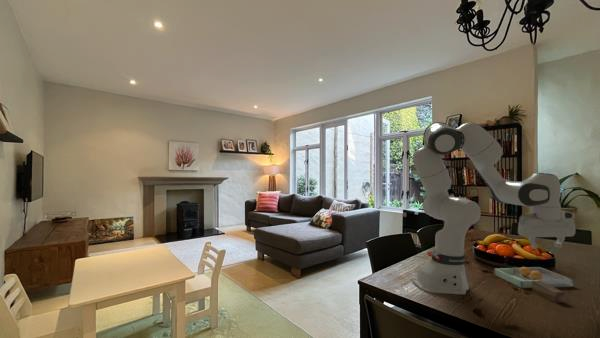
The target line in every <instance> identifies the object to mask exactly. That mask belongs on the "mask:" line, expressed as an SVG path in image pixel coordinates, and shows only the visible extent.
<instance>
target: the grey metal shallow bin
mask: <svg viewBox="0 0 600 338" xmlns="http://www.w3.org/2000/svg"><path fill="white" fill-rule="evenodd" d="M526 267H527V266H526ZM510 268H511V274H513V275H515V276H517V277H520V278H522V279H524V280H535V279H533V278H532V277H531V275H529V276H524V275H522V274H521V273H520V271H519V269H520V268H521V267H510ZM527 268H528V269H529V270H530V272H532V271H539V272H540V273H541V274H542V279H538V281H542V282H544V283H546V284H548V285H550V286H552V287H554V288H571V287H574V279H573V278H570V277H568V276H565V275H562V274H559V273H557V272H555V271H551V270H549V269H546V268H543V267H541V266H530V267H529V266H528V267H527Z"/></svg>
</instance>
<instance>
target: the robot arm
mask: <svg viewBox="0 0 600 338" xmlns="http://www.w3.org/2000/svg"><path fill="white" fill-rule="evenodd" d="M459 150H461V151H462V152H463V153H464V154H465V155H466V156H467V157H468V159H470V161H471V162H472V165H473V167H474V169H475V171H476V172H477V174H479V176H480V177H481V179H482V180H483V181H484V183H485V184H486V185H487V187H488V188H489V191H490V193H491V196H492V198H493V200H495V201H496V202H498V203H500V204H506V205H507V204H509V205H510V204H511V205H515V206H523V207H530V213H522V215H520V216H519V220H518V226H517V234H518V235H519V236H520V237H524V238H527V240H528V241H529V243H530V248H532V249H538V248H539V244H538V243H537V242H536V241H535V240H536V239H537V238H556V240H555V241H554V242H553V246H554V248H556V249H558V248H559V249H560V248H561V249H562V247H563V243H564V241H565V240H566V237H574V236H575V235H576V222H575V220H574V218H575V216H576V215H575V213H573V212H570V211H567V210H563V209H562V206H561V201H560V198H561V196H562V195H561V183H560V179H559V177H558V176H557V175H555V174H554V173H553V174H552V173H548V172H546V173H545V172H534V173H532V174H531V176H529V177H528V178H525V179H524V180H522V181H516V180H515V181H514V180H513V181H512V180H508V179H505V178H503V177H502V175H501V174H500V172H499V171H498V170H497V168H496V167H495V164H497V162H499V161H500V159H501V158H502V156H503V147H502V146H501V145H500V143H499V142H498V140H496V139H495V138H494V136H492V134H490V133H489V132H488V131H487V130H486V129H485V128H484V127H482V126H480V124H478V123H476V122H473V121H472V122H470V121H469V122H466V123H463V124H461V125H460V126H458V127H456V128H454V127H451V126H450V125H448V124H447V123H445V122H441V121H437V122H433V123H430V124H429V125H427V127H426V128H425V129H424V132H423V137H422V147H420V148H418V149H417V150H415V151H414V152H413V154H412V160H413V166H414V168H415V170H416V173H417V175H418V178H419V180H420V182H421V184H422V186H423V189H424V192H425V198H424V199H423V202H422V209H423V212H424V213H425V215H428V216H429V217H432V218H433V219H437V220H440V221H444V224H443V227H442V229H439V230H438V231H436V233H435V235H434V236H435V237H434V238H435V239H434V241H435V244H434V245H435V246H434V248H435V250H434V251H433V252H432V251H431V250H427V251H426V255H428V256H429V257H431V258H430V259H429V260H428V261H427V262H425V263H423V264H422V265H421V266H419V268H418V270H417V275H416V276H412V277H411V281H412V283H413V284H414V285H415V286H416V287H417V288H419V289H420V290H422V291H424V292H426V291H427V293H435V294H449V295H450V294H451V295H452V294H453V295H466V294H467V291H468V290H469V289H470V287H469V284H468V280H467V275H466V269H465V265H466V254H465V242H466V241H465V238H466V234H467V232H468V230H469V228H470V227H471V226H473V225H475V224H476V223H477V222H478V221H479V219H480V218H481V215H482V214H481V213H482V212H481V208H480V206H479V204H478V203H477V202H476V201H472V200H470V199H468V198H464V197H459V196H458V197H456V196H451V195H450V194H449V192H448V191H449V189H450V188H451V186H452V183H453V180H452V179H451V176H450V174H449V172H448V170H447V167H446V166H445V163H444V162H443V159H442V156H443V155H448V154H452V153H453V152H455V151H459Z"/></svg>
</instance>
